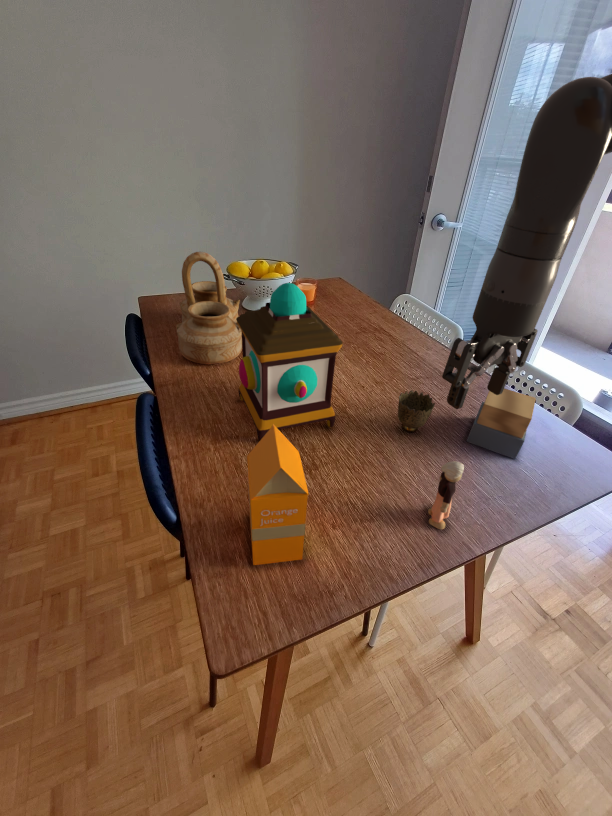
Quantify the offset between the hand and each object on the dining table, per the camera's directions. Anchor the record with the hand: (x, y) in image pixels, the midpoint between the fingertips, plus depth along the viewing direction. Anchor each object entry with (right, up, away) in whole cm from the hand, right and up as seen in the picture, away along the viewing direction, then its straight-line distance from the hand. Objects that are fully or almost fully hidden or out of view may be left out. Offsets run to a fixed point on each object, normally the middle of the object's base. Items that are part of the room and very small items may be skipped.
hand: (474, 398), depth 58 cm
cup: (-2, -6, +31) cm, 31 cm away
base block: (+17, -8, +30) cm, 35 cm away
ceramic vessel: (-53, +19, +61) cm, 82 cm away
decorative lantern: (-30, -3, +33) cm, 44 cm away
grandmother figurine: (-2, -20, +11) cm, 23 cm away
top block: (+17, -4, +27) cm, 32 cm away
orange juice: (-30, -22, +6) cm, 38 cm away
